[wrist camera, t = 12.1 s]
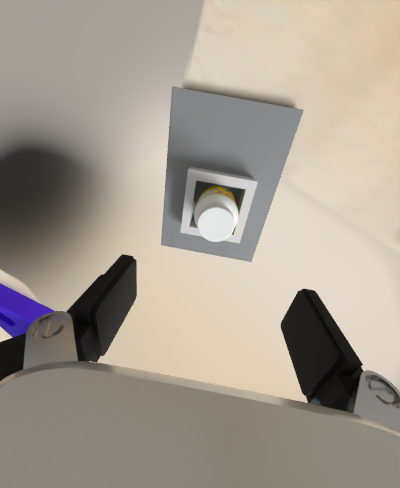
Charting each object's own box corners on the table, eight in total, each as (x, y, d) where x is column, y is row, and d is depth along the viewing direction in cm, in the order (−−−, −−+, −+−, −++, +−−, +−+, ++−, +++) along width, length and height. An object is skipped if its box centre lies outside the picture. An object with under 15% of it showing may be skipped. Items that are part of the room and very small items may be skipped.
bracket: (69, 321, 48) (26, 370, 37) (46, 335, 51) (2, 383, 41) (3, 272, 42) (-68, 314, 31) (-17, 292, 46) (-87, 335, 35)
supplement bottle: (193, 193, 28) (181, 212, 20) (226, 177, 27) (229, 190, 18) (208, 224, 30) (203, 253, 22) (239, 211, 29) (248, 237, 20)
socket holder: (174, 90, 24) (165, 78, 20) (298, 112, 24) (314, 105, 20) (163, 241, 34) (156, 253, 30) (249, 257, 34) (253, 271, 30)
